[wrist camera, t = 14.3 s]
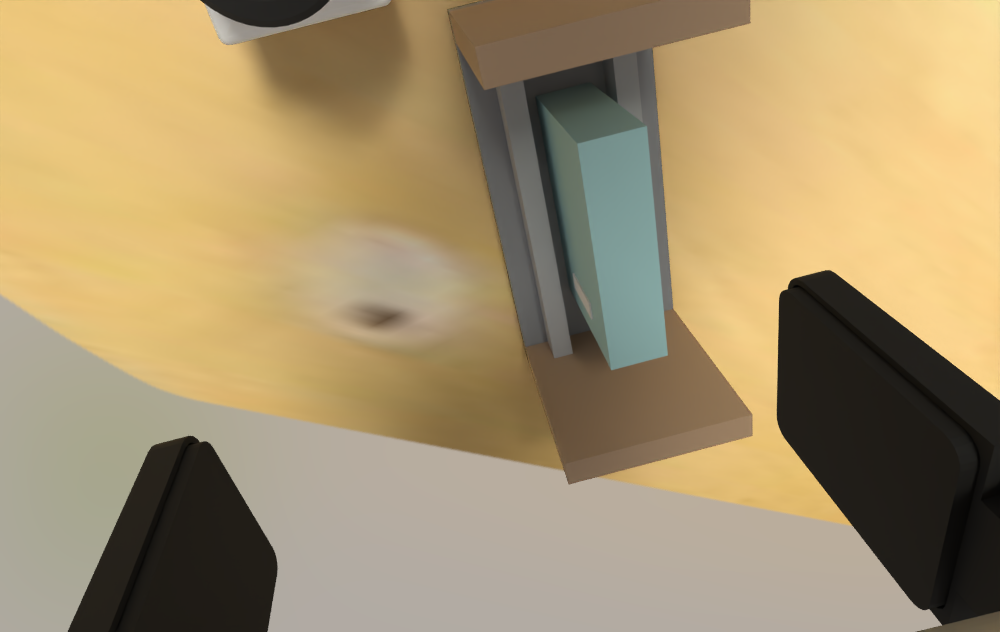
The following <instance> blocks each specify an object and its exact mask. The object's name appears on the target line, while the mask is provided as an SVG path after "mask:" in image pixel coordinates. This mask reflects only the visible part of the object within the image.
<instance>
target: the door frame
mask: <svg viewBox="0 0 1000 632" xmlns="http://www.w3.org/2000/svg"><path fill="white" fill-rule="evenodd" d="M447 10H448V14H449V19H450V23H451V27H452V32H453V36H454V40H455V45H456V49H457V53H458V58H459V62H460V67H461V71H462V75H463V80H464V84H465V88H466V93H467V97H468V101H469V106H470V110H471V115H472V119H473V123H474V128H475V132H476V136H477V141H478V145H479V150H480V154H481V158H482V163H483V167H484V171H485V176H486V180H487V184H488V189H489V193H490V198H491V202H492V206H493V211H494V215H495V219H496V224H497V228H498V233H499V237H500V241H501V246H502V250H503V254H504V259H505V263H506V267H507V272H508V276H509V281H510V285H511V289H512V294H513V298H514V302H515V307H516V311H517V315H518V320H519V324H520V329H521V333H522V337H523V342H524V346H525V350H526V355H527V358H528V362H529V365H530V368H531V371H532V374H533V377H534V380H535V383H536V386H537V389H538V392H539V395H540V398H541V401H542V404H543V407H544V410H545V413H546V416H547V419H548V423H549V426H550V429H551V432H552V435H553V438H554V441H555V444H556V447H557V450H558V453H559V456H560V459H561V462H562V465H563V468H564V471H565V474H566V477H567V480H568V484H572V483H576V482H579V481H583V480H587V479H591V478H595V477H599V476H603V475H606V474H610V473H614V472H618V471H621V470H625V469H629V468H633V467H637V466H640V465H644V464H648V463H652V462H655V461H659V460H663V459H667V458H671V457H674V456H678V455H682V454H686V453H689V452H693V451H697V450H701V449H705V448H708V447H712V446H716V445H720V444H724V443H727V442H731V441H735V440H739V439H742V438H746V437H750V436H752V413H751V412H750V411H749V409H748V408H747V407H746V405H745V404H744V403H743V401H742V400H741V399H740V397H739V396H738V395H737V393H736V392H735V391H734V389H733V388H732V387H731V385H730V384H729V383H728V381H727V380H726V379H725V377H724V376H723V375H722V373H721V372H720V371H719V369H718V368H717V367H716V365H715V364H714V363H713V361H712V360H711V359H710V357H709V356H708V355H707V353H706V352H705V351H704V349H703V348H702V347H701V345H700V344H699V343H698V341H697V340H696V339H695V337H694V336H693V335H692V333H691V332H690V331H689V329H688V328H687V327H686V325H685V324H684V323H683V321H682V320H681V319H680V317H679V316H678V315H677V313H676V312H675V311H674V309H673V300H672V288H671V275H670V263H669V250H668V238H667V225H666V213H665V200H664V188H663V175H662V163H661V150H660V138H659V125H658V113H657V100H656V88H655V75H654V63H653V50H652V48H654V47H658V46H662V45H666V44H670V43H674V42H678V41H682V40H686V39H690V38H693V37H697V36H701V35H705V34H709V33H713V32H717V31H721V30H725V29H729V28H733V27H737V26H741V25H745V24H749V23H750V0H484V1H480V2H475V3H471V4H467V5H463V6H459V7H455V8H451V9H447ZM589 82H590V83H592V84H593V85H594V86H596V87H597V88H598V89H599V90H601V91H602V92H603V93H605V94H606V95H607V96H609V97H610V98H611V99H612V100H614V101H615V102H616V103H618V104H619V105H620V106H622V107H623V108H624V109H625V110H627V111H628V112H629V113H631V114H632V115H633V116H635V117H636V118H637V119H638V120H640V121H641V122H642V123H644V124H645V125H646V126H647V133H648V144H649V155H650V166H651V177H652V188H653V198H654V209H655V220H656V231H657V242H658V253H659V264H660V275H661V286H662V297H663V308H664V319H665V329H666V340H667V351H668V356H664V357H660V358H656V359H652V360H649V361H645V362H641V363H637V364H633V365H630V366H626V367H622V368H618V369H614V370H611V369H610V367H609V365H608V363H607V361H606V359H605V357H604V355H603V353H602V351H601V349H600V347H599V345H598V343H597V341H596V339H595V337H594V335H593V333H592V331H591V329H590V327H589V325H588V323H587V322H586V320H585V318H584V316H583V314H582V312H581V310H580V308H579V306H578V304H577V302H576V300H575V298H574V296H573V294H572V292H571V290H570V288H569V282H568V277H567V271H566V266H565V260H564V254H563V249H562V243H561V237H560V232H559V226H558V220H557V215H556V209H555V204H554V198H553V192H552V187H551V181H550V175H549V170H548V164H547V158H546V153H545V147H544V142H543V136H542V130H541V125H540V119H539V113H538V108H537V102H536V97H535V96H538V95H542V94H545V93H549V92H553V91H557V90H561V89H565V88H569V87H573V86H577V85H581V84H585V83H589Z"/></svg>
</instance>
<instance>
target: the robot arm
mask: <svg viewBox="0 0 1000 632" xmlns="http://www.w3.org/2000/svg"><path fill="white" fill-rule="evenodd" d="M777 421H778V425H779V428H780V431H781V433H782V435H783V436H784V438H785V439H786V441H787V442H788V443H789V445H790V446H791V447H792V448H793V450H794V451H795V452H796V454H797V455H798V456H799V457H800V459H801V460H802V461H803V463H804V464H805V465H806V466H807V468H808V469H809V470H810V472H811V473H812V474H813V475H814V477H815V478H816V479H817V481H818V482H819V483H820V484H821V486H822V487H823V488H824V490H825V491H826V492H827V493H828V495H829V496H830V497H831V499H832V500H833V501H834V502H835V504H836V505H837V506H838V508H839V509H840V510H841V511H842V513H843V514H844V515H845V517H846V518H847V519H848V520H849V522H850V523H851V524H852V526H853V527H854V528H855V529H856V531H857V532H858V533H859V534H860V536H861V537H862V538H863V540H864V541H865V542H866V544H867V545H868V546H869V547H870V549H871V550H872V551H873V553H874V554H875V555H876V556H877V558H878V559H879V560H880V562H881V563H882V564H883V565H884V567H885V568H886V569H887V571H888V572H889V573H890V574H891V576H892V577H893V578H894V579H895V581H896V582H897V583H898V585H899V586H900V587H901V589H902V590H903V591H904V592H905V594H906V595H907V596H908V598H909V599H910V600H911V601H912V602H913V603H914V604H915V605H916V606H917V607H918V608H920V609H922V610H927V609H930V610H931V611H932V613H933V614H934V615H935V616H936V618H937V619H938V620H939V621H940V623H941V624H942V626H938V627H934V628H930V629H926V630H921V631H917V632H1000V400H998V399H997V398H996V397H994V396H993V395H992V394H990V393H989V392H988V391H987V390H985V389H984V388H983V387H981V386H980V385H979V384H978V383H976V382H975V381H974V380H972V379H971V378H970V377H969V376H967V375H966V374H965V373H963V372H962V371H961V370H960V369H958V368H957V367H956V366H954V365H953V364H952V363H950V362H949V361H948V360H947V359H945V358H944V357H943V356H941V355H940V354H939V353H938V352H936V351H935V350H934V349H932V348H931V347H930V346H929V345H927V344H926V343H925V342H923V341H922V340H921V339H919V338H918V337H917V336H916V335H914V334H913V333H912V332H910V331H909V330H908V329H907V328H905V327H904V326H903V325H901V324H900V323H899V322H898V321H896V320H895V319H894V318H892V317H891V316H890V315H889V314H887V313H886V312H885V311H883V310H882V309H881V308H879V307H878V306H877V305H876V304H874V303H873V302H872V301H870V300H869V299H868V298H867V297H865V296H864V295H863V294H861V293H860V292H859V291H858V290H856V289H855V288H854V287H852V286H851V285H850V284H848V283H847V282H846V281H845V280H843V279H842V278H841V277H839V276H838V275H837V274H836V273H834V272H832V271H830V270H825V271H821V272H817V273H814V274H810V275H806V276H802V277H798V278H794V279H793V280H791V281H790V283H789V285H788V290H784V291H782V292H781V294H780V298H779V333H778V382H777ZM276 577H277V559H276V555H275V552H274V550H273V548H272V546H271V544H270V543H269V541H268V539H267V537H266V536H265V534H264V533H263V531H262V529H261V527H260V526H259V524H258V522H257V521H256V519H255V517H254V516H253V514H252V512H251V511H250V509H249V507H248V506H247V504H246V502H245V500H244V499H243V497H242V495H241V494H240V492H239V490H238V489H237V487H236V486H235V484H234V482H233V480H232V479H231V477H230V475H229V474H228V472H227V470H226V469H225V467H224V465H223V463H222V462H221V460H220V459H219V457H218V455H217V453H216V452H215V450H214V448H213V447H212V446H211V444H210V443H208V442H199V441H198V439H196V438H195V437H194V436H187V437H183V438H179V439H175V440H172V441H167V442H163V443H160V444H156V445H154V446H152V447H151V449H150V450H149V452H148V454H147V456H146V458H145V461H144V463H143V465H142V467H141V469H140V472H139V474H138V476H137V478H136V481H135V483H134V485H133V487H132V489H131V492H130V494H129V496H128V499H127V501H126V503H125V505H124V507H123V510H122V512H121V514H120V516H119V519H118V521H117V523H116V525H115V527H114V530H113V532H112V534H111V536H110V538H109V541H108V543H107V545H106V547H105V550H104V552H103V554H102V556H101V559H100V561H99V563H98V565H97V568H96V570H95V572H94V574H93V576H92V579H91V581H90V583H89V585H88V587H87V590H86V592H85V594H84V596H83V599H82V601H81V603H80V605H79V608H78V610H77V612H76V614H75V616H74V619H73V621H72V623H71V625H70V628H69V630H68V632H267V631H268V625H269V619H270V613H271V607H272V601H273V594H274V588H275V583H276Z"/></svg>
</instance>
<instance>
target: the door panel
mask: <svg viewBox="0 0 1000 632" xmlns="http://www.w3.org/2000/svg"><path fill="white" fill-rule="evenodd" d="M535 97H536V102H537V108H538V113H539V119H540V125H541V130H542V136H543V142H544V147H545V153H546V158H547V164H548V170H549V175H550V181H551V187H552V192H553V198H554V204H555V209H556V215H557V220H558V226H559V232H560V237H561V243H562V249H563V254H564V260H565V266H566V271H567V277H568V282H569V288H570V290H571V292H572V294H573V296H574V298H575V300H576V302H577V304H578V306H579V308H580V310H581V312H582V314H583V316H584V318H585V320H586V322H587V323H588V325H589V327H590V329H591V331H592V333H593V335H594V337H595V339H596V341H597V343H598V345H599V347H600V349H601V351H602V353H603V355H604V357H605V359H606V361H607V363H608V365H609V367H610V369H611V370H614V369H618V368H622V367H626V366H630V365H633V364H637V363H641V362H645V361H649V360H652V359H656V358H660V357H664V356H668V351H667V340H666V329H665V319H664V308H663V297H662V286H661V275H660V264H659V253H658V242H657V231H656V220H655V209H654V198H653V188H652V177H651V166H650V155H649V144H648V133H647V126H646V125H645V124H644V123H642V122H641V121H640V120H638V119H637V118H636V117H635V116H633V115H632V114H631V113H629V112H628V111H627V110H625V109H624V108H623V107H622V106H620V105H619V104H618V103H616V102H615V101H614V100H612V99H611V98H610V97H609V96H607V95H606V94H605V93H603V92H602V91H601V90H599V89H598V88H597V87H596V86H594V85H593V84H592V83H590V82H589V83H585V84H581V85H577V86H573V87H569V88H565V89H561V90H557V91H553V92H549V93H545V94H542V95H538V96H535Z"/></svg>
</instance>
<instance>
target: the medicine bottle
mask: <svg viewBox="0 0 1000 632" xmlns="http://www.w3.org/2000/svg"><path fill="white" fill-rule="evenodd" d="M201 1H202V2H203V3H204V4H205V6H206V8H207V11H208V13H209V16H210V18H211V21H212V23H213V25H214V28H215V30H216V33H217V35H218V38H219V39H220V41H221V42H222V43H224V44H226V45H233V44H237V43H241V42H245V41H249V40H253V39H257V38H261V37H265V36H269V35H273V34H277V33H281V32H285V31H288V30H292V29H296V28H300V27H304V26H308V25H312V24H316V23H320V22H324V21H328V20H332V19H336V18H340V17H344V16H347V15H351V14H355V13H359V12H363V11H367V10H371V9H375V8H379V7H383V6H386V5H388V4H389V3H390V1H391V0H201Z"/></svg>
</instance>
